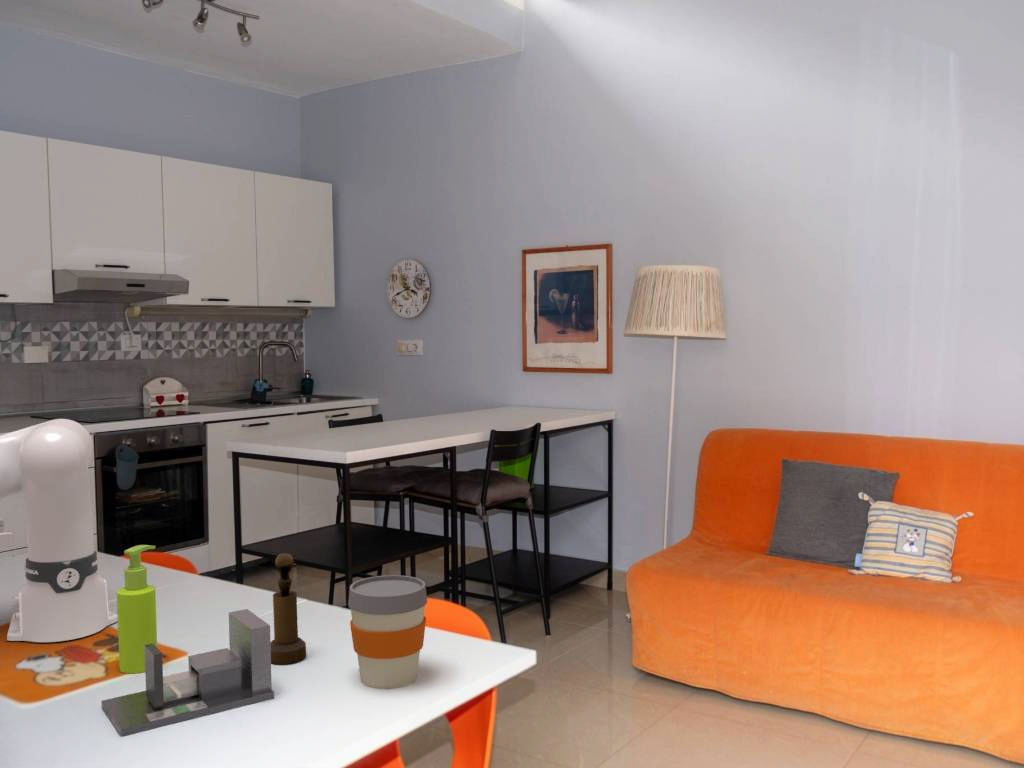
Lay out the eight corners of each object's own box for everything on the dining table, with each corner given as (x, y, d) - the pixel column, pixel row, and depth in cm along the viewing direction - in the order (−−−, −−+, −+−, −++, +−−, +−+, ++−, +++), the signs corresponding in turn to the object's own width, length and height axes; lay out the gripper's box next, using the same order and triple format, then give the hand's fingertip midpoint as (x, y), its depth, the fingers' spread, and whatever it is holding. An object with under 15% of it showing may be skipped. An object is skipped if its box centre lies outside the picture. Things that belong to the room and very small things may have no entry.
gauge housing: (101, 707, 137) (99, 634, 137) (246, 673, 150) (245, 607, 149) (120, 736, 128) (118, 658, 127) (274, 698, 140) (272, 627, 140)
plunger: (146, 697, 138) (144, 644, 137) (221, 680, 144) (219, 630, 144) (161, 716, 131) (159, 661, 130) (238, 697, 138) (237, 644, 137)
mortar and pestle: (270, 651, 160) (268, 549, 159) (308, 650, 161) (306, 548, 160) (263, 665, 154) (261, 559, 152) (303, 664, 154) (301, 558, 153)
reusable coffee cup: (394, 699, 140) (393, 601, 139) (332, 682, 146) (331, 589, 145) (443, 672, 150) (442, 581, 149) (384, 657, 157) (382, 571, 156)
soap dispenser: (169, 660, 156) (165, 544, 155) (140, 675, 150) (136, 553, 148) (141, 656, 158) (137, 541, 157) (111, 671, 152) (107, 551, 150)
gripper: (-119, 554, 124) (-2, 540, 132) (-113, 590, 107) (20, 571, 115) (-121, 508, 124) (-4, 496, 132) (-116, 537, 107) (18, 521, 115)
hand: (8, 531), depth 123 cm, fingers open, 8 cm apart
